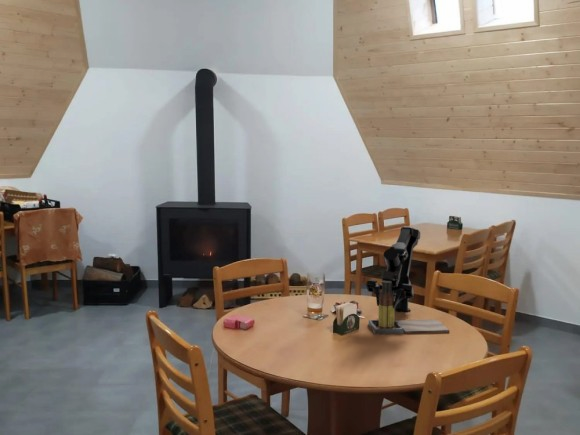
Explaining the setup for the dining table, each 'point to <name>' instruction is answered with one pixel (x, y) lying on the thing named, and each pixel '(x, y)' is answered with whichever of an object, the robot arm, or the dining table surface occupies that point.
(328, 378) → the dining table surface
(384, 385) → the dining table surface
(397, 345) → the dining table surface
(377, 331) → the grey square frame
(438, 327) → the brown flat slab
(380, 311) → the sauce bottle
